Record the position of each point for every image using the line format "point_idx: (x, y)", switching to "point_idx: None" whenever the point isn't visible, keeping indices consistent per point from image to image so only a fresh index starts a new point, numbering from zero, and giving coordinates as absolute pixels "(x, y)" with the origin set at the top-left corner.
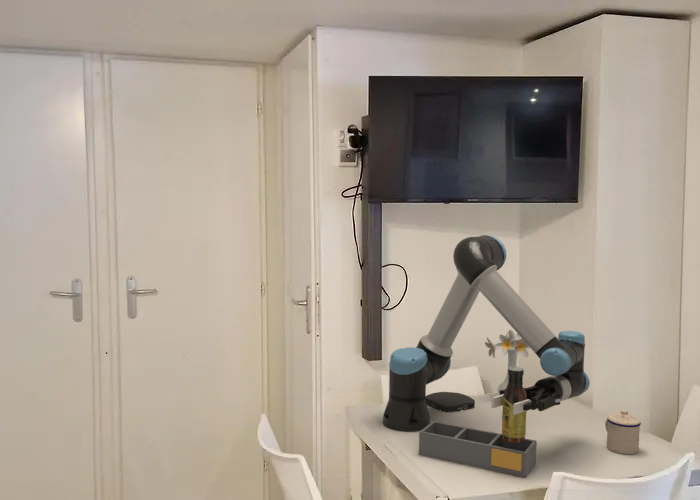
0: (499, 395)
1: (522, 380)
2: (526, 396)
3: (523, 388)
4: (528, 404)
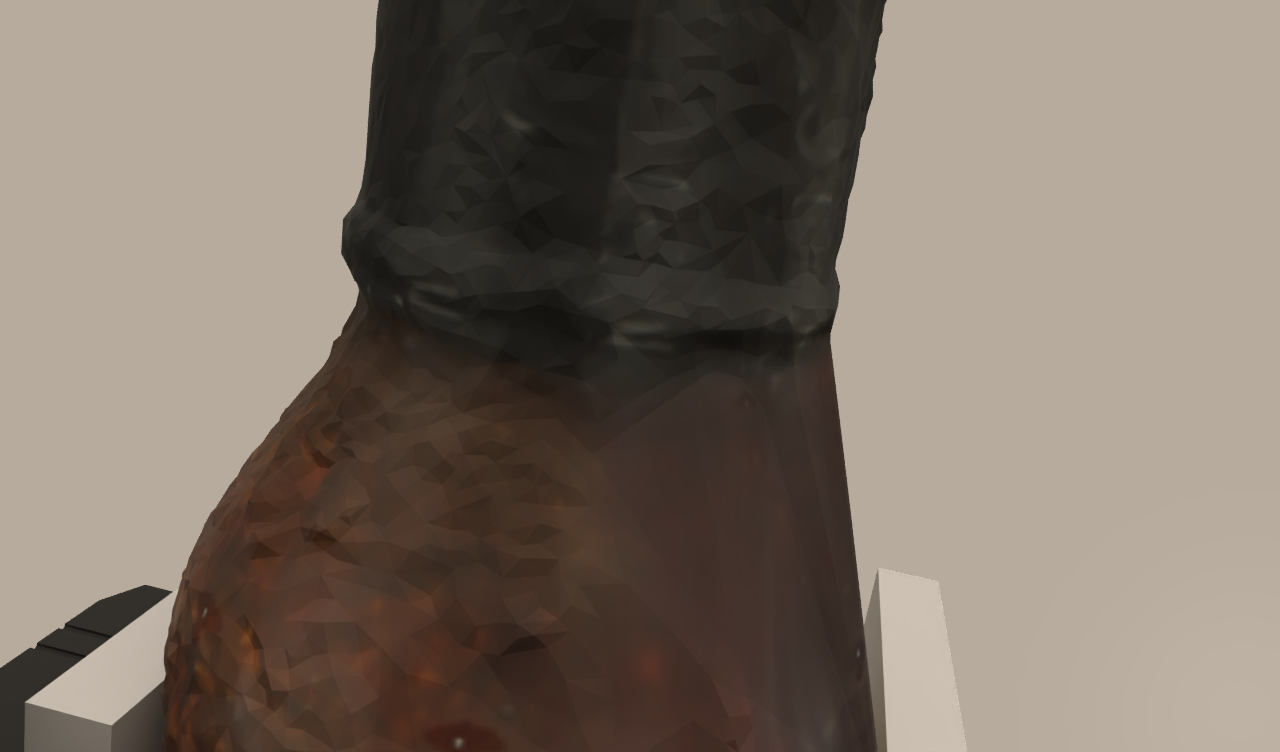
0: (953, 722)
1: (370, 110)
2: (164, 650)
3: (302, 408)
4: (88, 639)
